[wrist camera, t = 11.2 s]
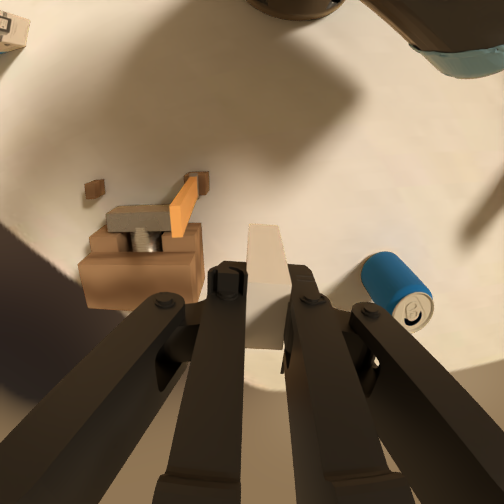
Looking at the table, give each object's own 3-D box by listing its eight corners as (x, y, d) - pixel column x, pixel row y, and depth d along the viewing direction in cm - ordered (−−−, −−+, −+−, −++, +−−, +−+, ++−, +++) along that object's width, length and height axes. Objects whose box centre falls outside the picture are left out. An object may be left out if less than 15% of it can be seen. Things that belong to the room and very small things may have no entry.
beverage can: (364, 296, 46) (392, 344, 35) (354, 258, 44) (384, 302, 33) (403, 280, 45) (438, 324, 34) (395, 243, 43) (435, 281, 32)
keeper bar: (167, 202, 23) (181, 201, 23) (189, 173, 36) (198, 172, 36) (170, 241, 24) (184, 241, 24) (190, 198, 38) (199, 197, 38)
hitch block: (94, 178, 40) (60, 192, 31) (208, 171, 39) (196, 183, 31) (108, 276, 45) (83, 307, 37) (213, 278, 45) (205, 313, 37)
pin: (117, 206, 41) (105, 214, 37) (180, 203, 41) (173, 211, 37) (136, 319, 48) (127, 334, 44) (191, 321, 47) (187, 337, 44)
